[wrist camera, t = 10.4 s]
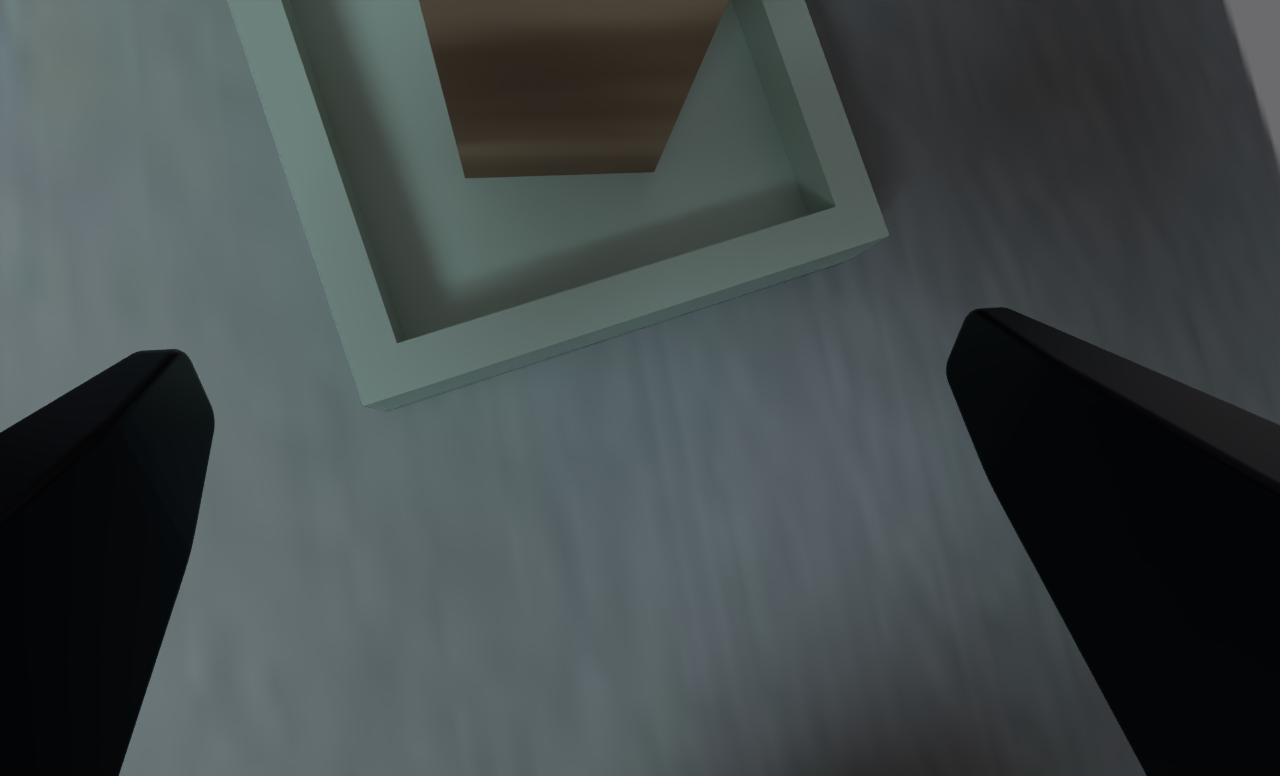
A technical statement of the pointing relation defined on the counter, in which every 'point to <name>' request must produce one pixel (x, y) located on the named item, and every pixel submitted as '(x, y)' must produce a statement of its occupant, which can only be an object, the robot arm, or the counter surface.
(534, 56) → the tan wooden block
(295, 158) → the tray
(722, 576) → the counter surface
